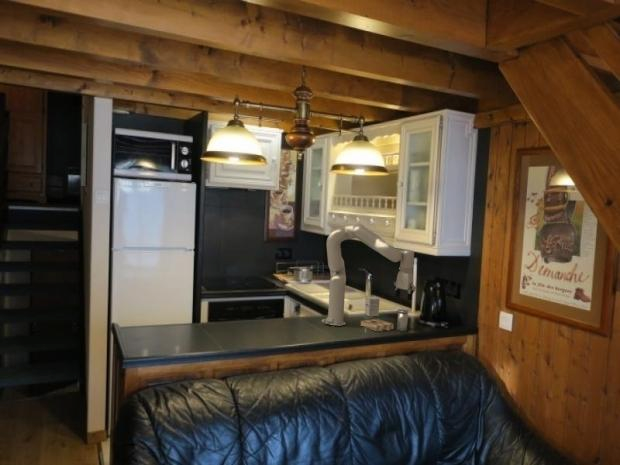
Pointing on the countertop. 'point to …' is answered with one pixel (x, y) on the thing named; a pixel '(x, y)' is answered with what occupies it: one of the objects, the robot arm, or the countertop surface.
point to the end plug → (402, 320)
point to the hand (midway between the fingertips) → (403, 298)
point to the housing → (377, 325)
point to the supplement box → (372, 306)
